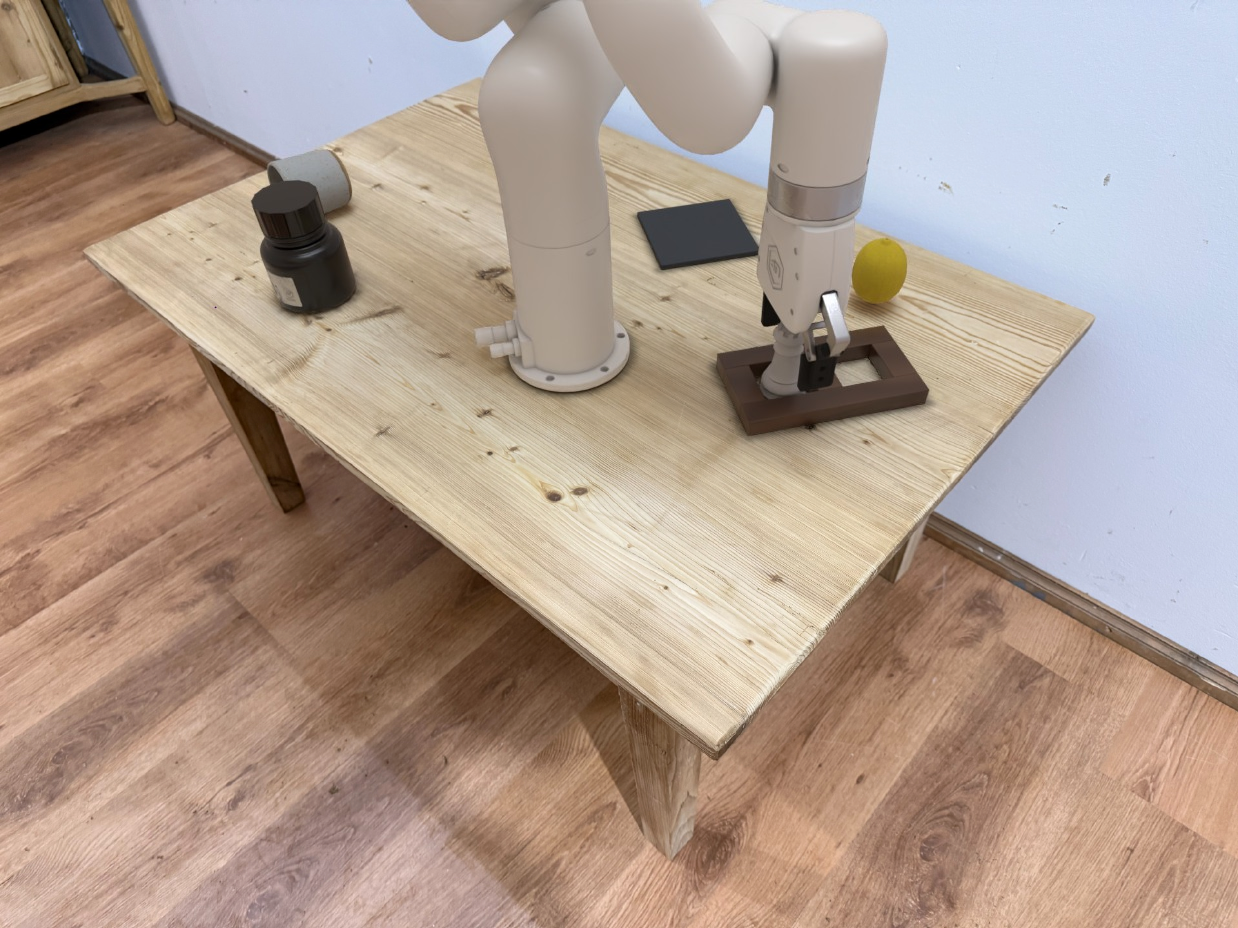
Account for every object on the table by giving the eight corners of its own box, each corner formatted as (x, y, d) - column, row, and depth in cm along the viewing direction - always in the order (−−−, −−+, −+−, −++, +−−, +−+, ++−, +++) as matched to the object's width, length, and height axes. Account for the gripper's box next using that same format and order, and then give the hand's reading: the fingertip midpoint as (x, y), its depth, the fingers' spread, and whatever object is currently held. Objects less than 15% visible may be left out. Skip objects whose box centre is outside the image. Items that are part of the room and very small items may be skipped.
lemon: (898, 321, 90) (915, 256, 85) (845, 315, 91) (858, 251, 85) (897, 290, 94) (913, 226, 88) (846, 285, 95) (859, 222, 89)
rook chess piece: (753, 400, 83) (761, 335, 77) (765, 371, 85) (774, 307, 80) (798, 411, 81) (810, 346, 76) (809, 382, 84) (821, 317, 78)
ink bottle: (276, 276, 99) (240, 181, 91) (352, 261, 101) (324, 167, 92) (280, 324, 93) (241, 228, 84) (361, 308, 95) (331, 211, 86)
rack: (925, 403, 82) (929, 389, 80) (747, 436, 79) (749, 422, 78) (880, 338, 88) (883, 324, 87) (715, 366, 86) (716, 353, 85)
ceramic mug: (362, 210, 109) (346, 153, 103) (304, 234, 105) (283, 176, 100) (323, 181, 114) (306, 126, 109) (267, 203, 111) (246, 147, 105)
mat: (661, 270, 98) (661, 265, 98) (637, 216, 106) (637, 212, 106) (760, 254, 100) (760, 250, 99) (729, 202, 108) (729, 198, 107)
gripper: (736, 144, 73) (728, 307, 85) (811, 252, 61) (789, 423, 73) (819, 131, 74) (799, 294, 86) (908, 235, 62) (871, 406, 74)
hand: (794, 353), depth 80 cm, fingers open, 9 cm apart
